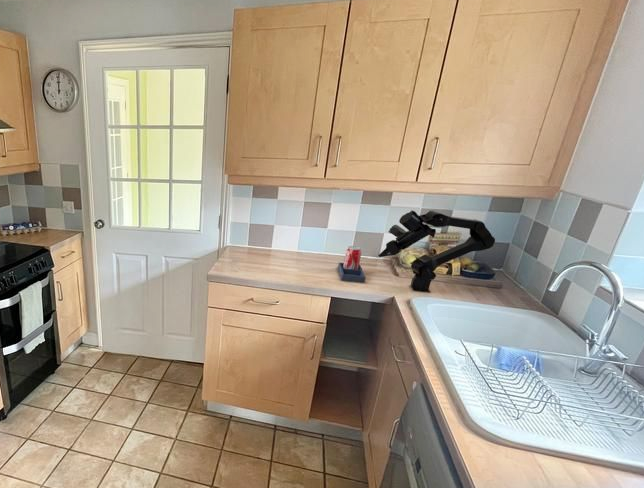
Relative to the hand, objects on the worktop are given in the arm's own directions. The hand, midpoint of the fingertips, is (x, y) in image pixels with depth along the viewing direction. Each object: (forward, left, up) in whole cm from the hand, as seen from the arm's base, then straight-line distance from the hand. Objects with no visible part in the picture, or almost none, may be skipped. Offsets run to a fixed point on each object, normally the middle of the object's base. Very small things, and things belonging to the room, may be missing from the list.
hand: (382, 254), depth 191 cm
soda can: (+11, -11, -13) cm, 20 cm away
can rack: (+11, -6, -14) cm, 18 cm away
